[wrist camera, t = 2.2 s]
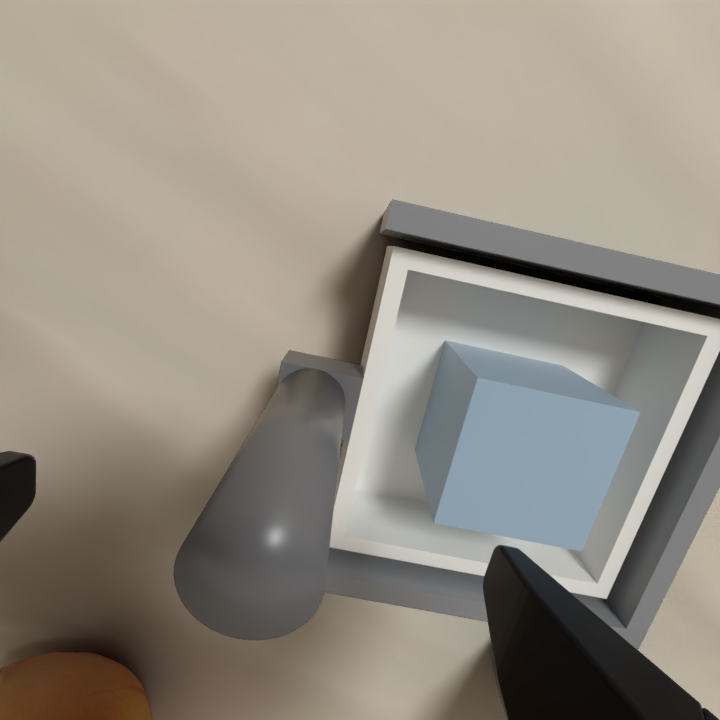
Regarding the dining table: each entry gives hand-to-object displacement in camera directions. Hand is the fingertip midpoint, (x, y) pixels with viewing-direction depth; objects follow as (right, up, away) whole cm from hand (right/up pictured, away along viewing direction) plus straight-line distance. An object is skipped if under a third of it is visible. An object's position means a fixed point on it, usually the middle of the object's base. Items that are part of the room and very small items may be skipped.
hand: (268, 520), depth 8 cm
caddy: (+6, +1, +10) cm, 12 cm away
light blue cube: (+7, +1, +10) cm, 12 cm away
